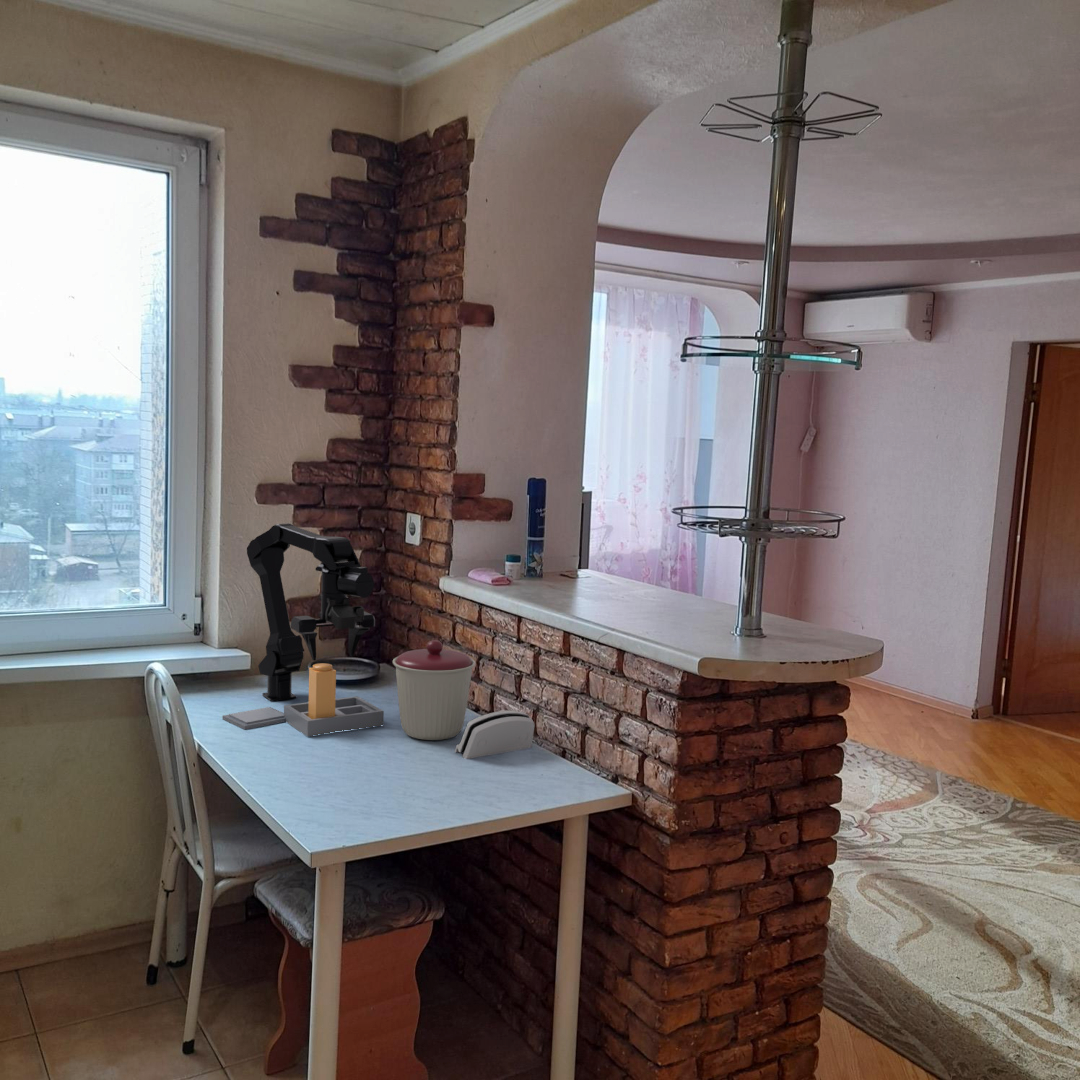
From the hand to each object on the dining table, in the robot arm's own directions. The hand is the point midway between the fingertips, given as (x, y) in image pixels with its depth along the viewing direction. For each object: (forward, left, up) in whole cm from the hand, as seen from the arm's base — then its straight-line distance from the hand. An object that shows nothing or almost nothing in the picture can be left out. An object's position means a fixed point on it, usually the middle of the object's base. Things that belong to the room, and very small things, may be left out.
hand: (332, 658), depth 240 cm
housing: (+8, -3, -13) cm, 16 cm away
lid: (-2, -17, -13) cm, 21 cm away
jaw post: (+11, -7, -12) cm, 18 cm away
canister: (+25, +13, -13) cm, 31 cm away
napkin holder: (+42, +19, -13) cm, 48 cm away
